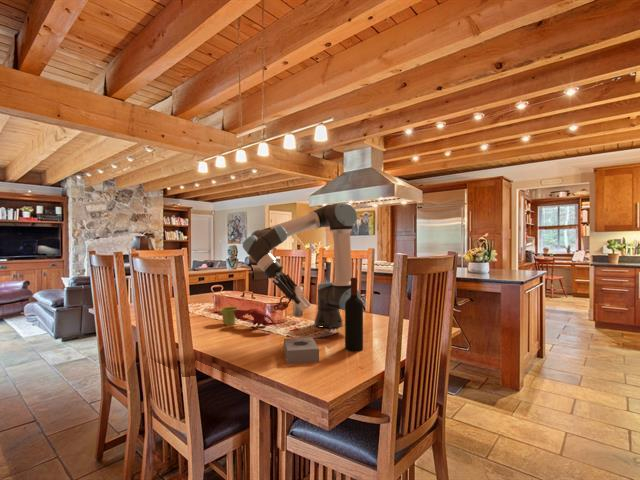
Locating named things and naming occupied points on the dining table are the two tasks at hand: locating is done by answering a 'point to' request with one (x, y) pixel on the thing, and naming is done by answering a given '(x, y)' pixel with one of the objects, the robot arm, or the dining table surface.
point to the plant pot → (228, 315)
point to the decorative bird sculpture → (254, 316)
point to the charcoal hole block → (301, 350)
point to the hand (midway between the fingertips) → (306, 307)
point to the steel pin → (296, 310)
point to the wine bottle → (354, 320)
